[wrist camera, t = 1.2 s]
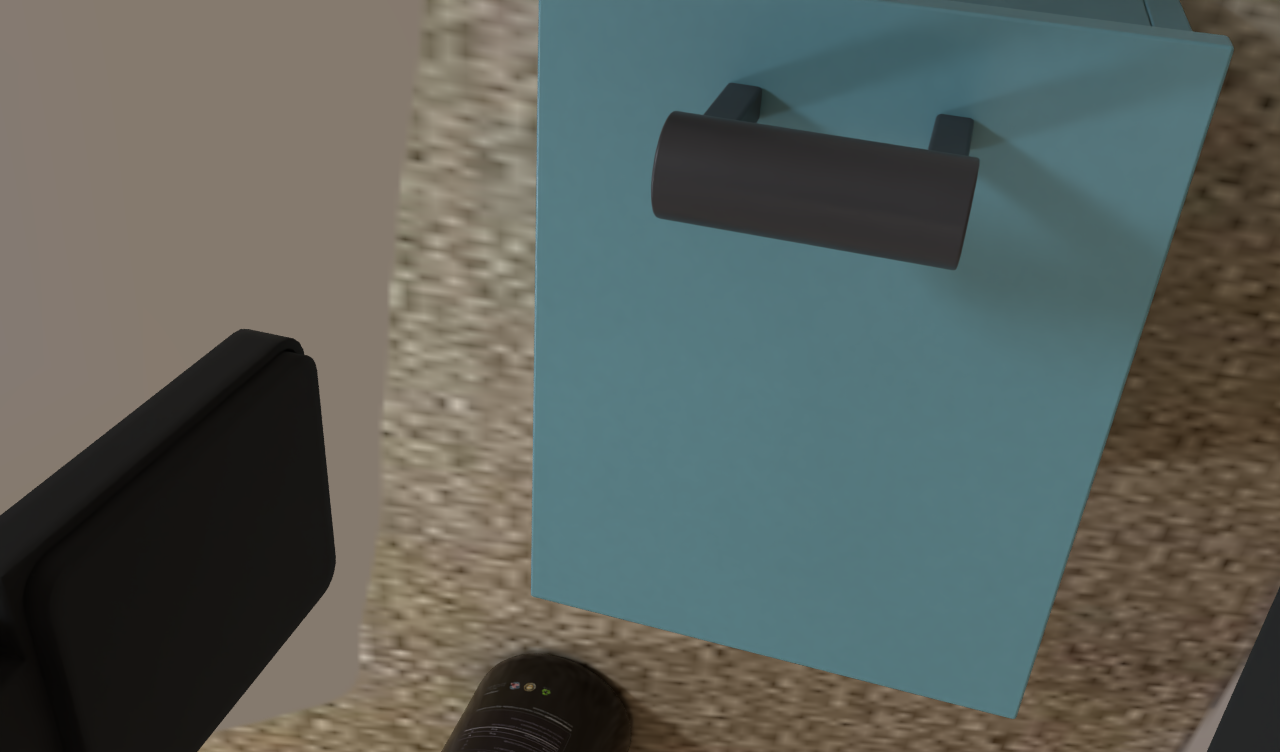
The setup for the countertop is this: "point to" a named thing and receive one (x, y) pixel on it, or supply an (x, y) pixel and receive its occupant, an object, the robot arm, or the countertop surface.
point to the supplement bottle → (542, 710)
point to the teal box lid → (843, 316)
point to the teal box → (1105, 10)
